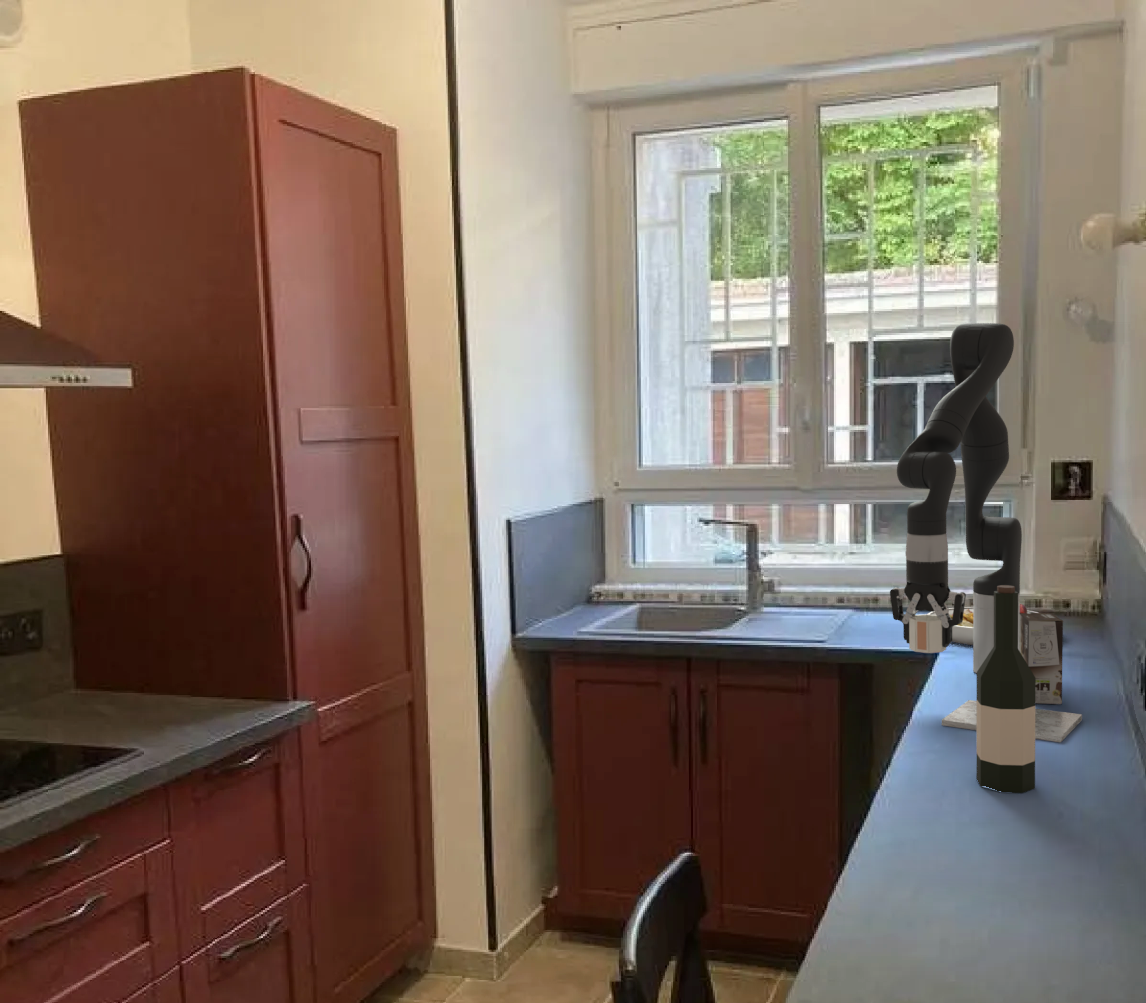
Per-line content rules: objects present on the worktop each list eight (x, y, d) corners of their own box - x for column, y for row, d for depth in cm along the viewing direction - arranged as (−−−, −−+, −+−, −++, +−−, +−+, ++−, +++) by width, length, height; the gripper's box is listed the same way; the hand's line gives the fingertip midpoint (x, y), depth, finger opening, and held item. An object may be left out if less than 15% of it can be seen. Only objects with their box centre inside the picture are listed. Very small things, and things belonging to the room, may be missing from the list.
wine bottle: (1029, 797, 161) (1030, 592, 158) (970, 788, 165) (970, 588, 163) (1039, 780, 168) (1040, 584, 165) (982, 772, 172) (982, 581, 170)
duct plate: (968, 705, 211) (968, 674, 210) (1082, 720, 199) (1082, 687, 198) (941, 725, 198) (941, 692, 197) (1060, 742, 186) (1061, 707, 186)
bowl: (1047, 654, 253) (1048, 620, 252) (913, 644, 268) (913, 611, 267) (1063, 630, 279) (1063, 600, 278) (940, 622, 294) (940, 593, 293)
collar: (917, 643, 214) (917, 613, 214) (949, 647, 210) (949, 616, 210) (905, 650, 209) (905, 619, 208) (938, 654, 205) (938, 622, 205)
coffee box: (1063, 704, 209) (1064, 620, 208) (1027, 703, 211) (1027, 620, 209) (1052, 692, 218) (1053, 611, 217) (1018, 692, 220) (1018, 611, 218)
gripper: (972, 556, 207) (972, 644, 208) (896, 552, 215) (897, 636, 217) (959, 562, 201) (959, 653, 203) (882, 557, 209) (883, 644, 211)
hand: (927, 644), depth 210 cm, fingers closed on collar, 6 cm apart
